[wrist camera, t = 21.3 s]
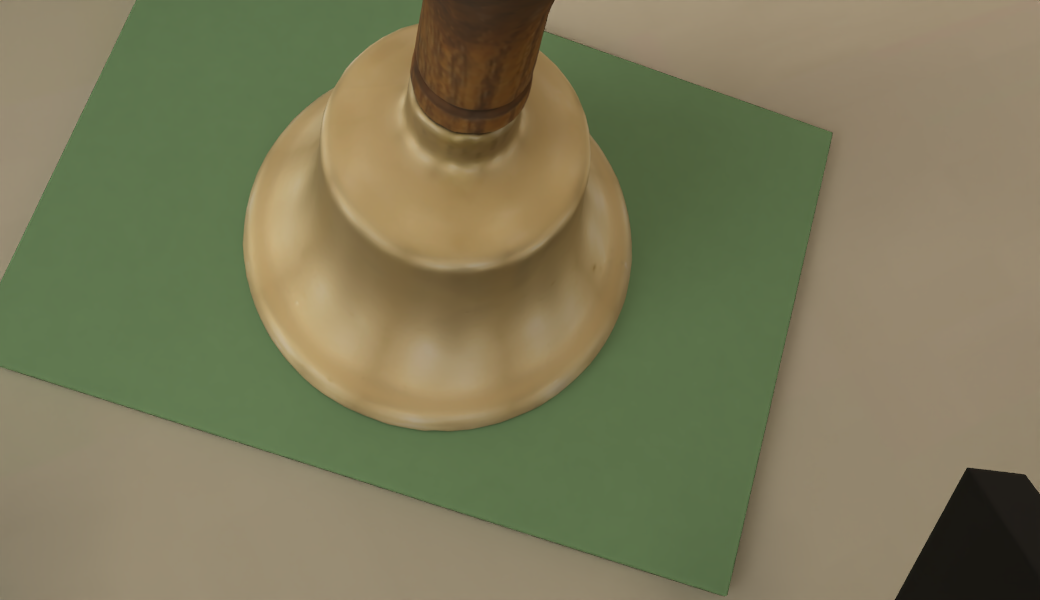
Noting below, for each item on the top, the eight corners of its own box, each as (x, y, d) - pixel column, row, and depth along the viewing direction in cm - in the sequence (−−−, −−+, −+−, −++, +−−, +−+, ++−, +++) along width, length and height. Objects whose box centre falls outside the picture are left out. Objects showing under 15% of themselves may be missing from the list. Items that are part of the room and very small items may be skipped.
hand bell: (247, 60, 20) (-187, -1384, 5) (614, 68, 22) (1178, -1077, 6) (240, 439, 18) (-515, -6, 3) (643, 424, 20) (1572, 51, 4)
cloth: (-27, 358, 18) (-36, 354, 18) (185, -87, 21) (181, -98, 21) (720, 595, 19) (727, 596, 19) (826, 138, 22) (834, 132, 22)
